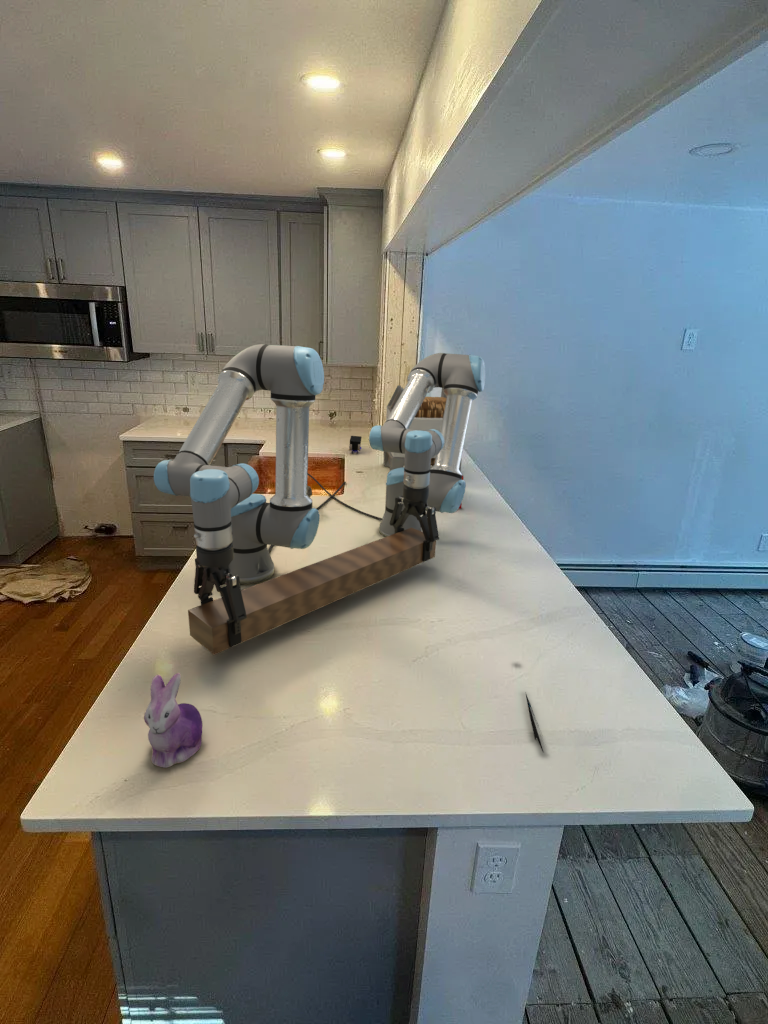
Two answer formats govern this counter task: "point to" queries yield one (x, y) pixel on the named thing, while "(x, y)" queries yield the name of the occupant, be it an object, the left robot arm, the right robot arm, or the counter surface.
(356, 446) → the figurine character
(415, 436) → the right robot arm
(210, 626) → the wide beam
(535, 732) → the feather
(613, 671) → the counter surface
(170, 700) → the figurine
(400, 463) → the grey slatted crate
